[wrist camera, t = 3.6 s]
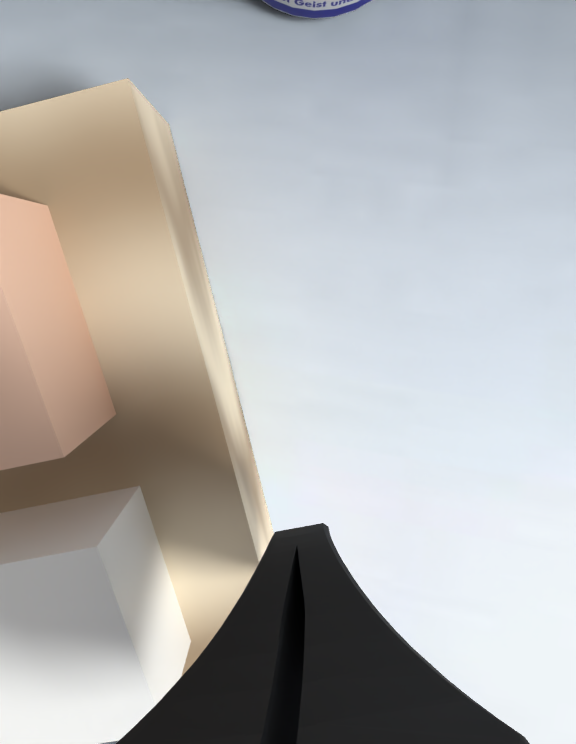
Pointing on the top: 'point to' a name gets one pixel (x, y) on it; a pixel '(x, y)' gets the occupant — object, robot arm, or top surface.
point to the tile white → (84, 620)
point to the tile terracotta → (43, 345)
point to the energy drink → (316, 7)
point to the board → (143, 343)
